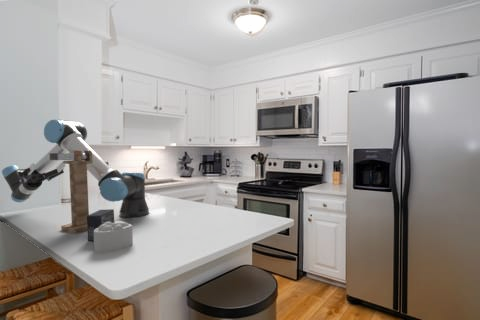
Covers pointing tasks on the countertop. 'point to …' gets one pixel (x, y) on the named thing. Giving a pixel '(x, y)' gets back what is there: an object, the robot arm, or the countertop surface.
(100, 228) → the grey rounded container
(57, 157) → the lever
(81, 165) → the stand
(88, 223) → the small box
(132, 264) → the countertop surface
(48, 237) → the countertop surface
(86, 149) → the robot arm
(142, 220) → the countertop surface
